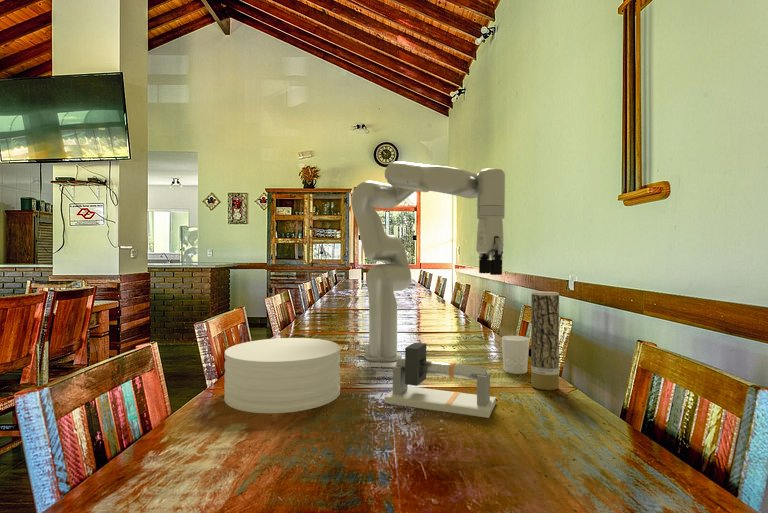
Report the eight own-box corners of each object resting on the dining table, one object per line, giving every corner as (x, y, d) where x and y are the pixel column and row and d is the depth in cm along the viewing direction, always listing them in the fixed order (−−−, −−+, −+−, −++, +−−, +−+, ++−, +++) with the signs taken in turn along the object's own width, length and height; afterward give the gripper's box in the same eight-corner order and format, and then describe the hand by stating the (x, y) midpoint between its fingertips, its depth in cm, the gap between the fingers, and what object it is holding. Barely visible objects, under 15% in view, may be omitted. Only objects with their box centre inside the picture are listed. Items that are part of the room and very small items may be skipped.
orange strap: (444, 404, 98) (444, 367, 98) (455, 392, 107) (455, 358, 107) (450, 405, 97) (450, 368, 97) (460, 392, 106) (460, 358, 106)
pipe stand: (384, 403, 103) (384, 368, 103) (399, 391, 112) (399, 359, 112) (488, 417, 94) (488, 380, 94) (495, 403, 103) (495, 369, 103)
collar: (405, 384, 103) (405, 347, 103) (414, 376, 109) (414, 342, 109) (417, 385, 102) (417, 348, 102) (426, 378, 108) (426, 343, 108)
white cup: (532, 374, 128) (532, 340, 128) (505, 374, 128) (505, 340, 128) (524, 368, 136) (524, 335, 136) (498, 367, 136) (498, 335, 136)
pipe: (396, 372, 106) (396, 359, 106) (400, 369, 109) (400, 357, 109) (484, 382, 98) (484, 368, 98) (486, 378, 100) (486, 365, 100)
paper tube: (561, 392, 112) (561, 293, 112) (533, 390, 113) (533, 293, 113) (556, 384, 119) (556, 291, 119) (529, 383, 120) (530, 291, 120)
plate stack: (198, 401, 104) (198, 353, 104) (278, 373, 129) (278, 334, 129) (291, 422, 91) (291, 367, 91) (360, 387, 116) (360, 343, 116)
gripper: (469, 215, 133) (468, 272, 133) (487, 210, 116) (487, 275, 116) (493, 216, 133) (492, 272, 134) (515, 210, 116) (514, 275, 116)
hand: (490, 273), depth 125 cm, fingers open, 9 cm apart
